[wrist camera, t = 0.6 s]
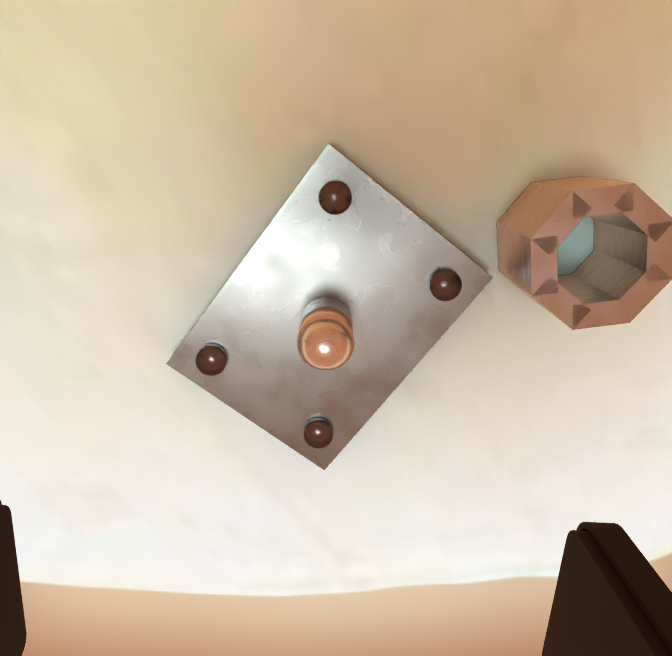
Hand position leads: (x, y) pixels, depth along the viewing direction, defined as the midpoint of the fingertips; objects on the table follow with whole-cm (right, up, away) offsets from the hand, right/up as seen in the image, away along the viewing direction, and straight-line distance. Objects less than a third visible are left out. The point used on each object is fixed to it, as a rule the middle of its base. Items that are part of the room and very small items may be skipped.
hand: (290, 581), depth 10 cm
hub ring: (+14, +9, +25) cm, 30 cm away
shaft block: (0, +5, +26) cm, 26 cm away
